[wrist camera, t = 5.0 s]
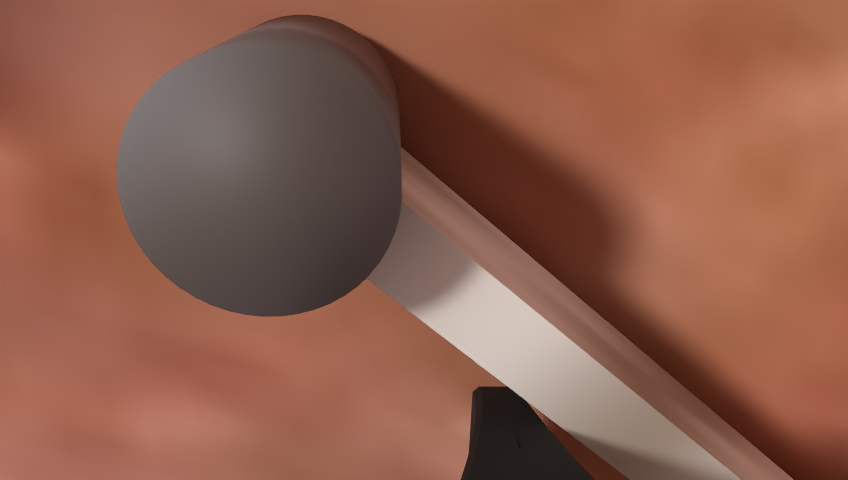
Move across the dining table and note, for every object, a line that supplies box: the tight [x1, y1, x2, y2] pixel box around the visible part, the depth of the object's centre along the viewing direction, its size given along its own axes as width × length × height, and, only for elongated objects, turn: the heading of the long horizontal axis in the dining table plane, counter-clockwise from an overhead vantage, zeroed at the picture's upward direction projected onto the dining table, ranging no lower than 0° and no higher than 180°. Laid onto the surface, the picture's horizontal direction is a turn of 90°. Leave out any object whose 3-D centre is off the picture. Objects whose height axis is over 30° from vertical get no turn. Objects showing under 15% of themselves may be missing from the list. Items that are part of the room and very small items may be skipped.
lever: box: [117, 15, 794, 480], centre depth 12 cm, size 17×3×4 cm, turn 48°
